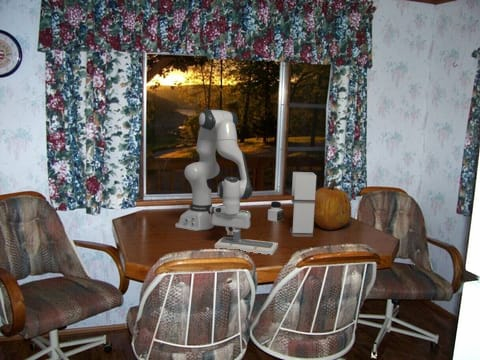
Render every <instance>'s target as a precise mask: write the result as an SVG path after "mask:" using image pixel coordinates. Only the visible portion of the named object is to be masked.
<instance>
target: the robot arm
mask: <svg viewBox="0 0 480 360" xmlns="http://www.w3.org/2000/svg"><path fill="white" fill-rule="evenodd" d="M198 124H199V130H198V134H197V142H196V147H195V151H196V153H198V155H199V161H197V162H192V163H190V164H188V165H187V166H185V169H184V172H183V173H184V177H185V179H186V180H187V181H188V182H189V183H190V186H191V191H192V193H191V194H192V196H191V197H192V202H190V203H189V204H188V206H187V207H188V209H187V210H186V211H184V212H183V213H182V214H181V215H180V217H179V220H178V222H175V224H174V225H175V226H174V227H175V228H178V229H183V230H184V229H185V230H189V231H194V232H195V231H203V230H204V231H206V230H210V229H213V228H214V226H219V227H225V231H226V232H227V236H234V230H235V229H236V228H240V229H246V230H248V229H249V228H251V217H252V213H251V212H250V211H249V210H247V209H245V210H244V209H241V201H240V200H242V201H243V200H244V201H245V200H248V199H250V197H252V195H253V188H252V183H251V180H250V175H249V170H248V165H247V159H246V157H245V153H244V151H243V150H241V148H240V147H239V144H238V134H237V129H236V127H237V126H238V116H237V114H236V113H235V112H233V111H229V110H223V109H222V110H221V109H204V110H202V111H201V112H200V113H199V116H198ZM216 151H217V153H218V154H219V155H220V156H221V157H222V158H225V159H227V160H230V161H233V162H234V163H236V165H237V167H238V171H239V175H240V179H239V178H238V177H235V176H226V177H225V178H224V180H223V181H220V182H219V183H218V184H217V193H216V194H217V196H218V197H219V198H220V199H222V200H223V201H222V204H219V205H217V206H215V207H214V208H213V203H212V189H211V188H209V186H208V181H207V180H211V179H214V178H215V177H216V176H218V175H219V174H220V166H219V165H220V164H218V162H217V159H216V158H217V157H216ZM230 228H232V230H230Z"/></svg>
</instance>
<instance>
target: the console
mask: <svg viewBox="0 0 480 360" xmlns="http://www.w3.org/2000/svg"><path fill="white" fill-rule="evenodd" d="M240 240H241V242H236V241H233V237H231V236H230V237H229V236H222V237H221V238H220V239H219V240H218V241H217V242H215V244H214V249H219V250H220V248H227V249H240V250H243V251H246V252H245V253H250V252H253V253H252V254H258V253H261V254H260V255H267V254H270V255H269V256H273V255H274V253H275V251H277V249H278V247H279V246H278V245H279V242H275V241H263V240H256V239H255V240H254V239H246V238H241V239H240Z"/></svg>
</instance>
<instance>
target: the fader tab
mask: <svg viewBox="0 0 480 360" xmlns="http://www.w3.org/2000/svg"><path fill="white" fill-rule="evenodd" d="M241 229H242V228H236V229H235V230H234V235H233V237H232V238H233V241H236V242H241V240H240V239H242V238H241V237H242V235H241V234H242V231H241Z"/></svg>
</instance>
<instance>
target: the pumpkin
mask: <svg viewBox="0 0 480 360" xmlns="http://www.w3.org/2000/svg"><path fill="white" fill-rule="evenodd" d="M335 184H336V178H334V179H332V180H331V182H330V183H329V186H328V187H321V188H320V187H319V189H317V190H315V206H314V223H315V224H316V225H317V226H318V227H319V228H321V229H323V230H327V231H331V230H338V229H340V228H342V227H344V226H346V225H347V224H348V223H349V222H350V221H351V218H352V203H351V200H350V197H349V196H348V194H347V193H346V191H344V190H342V189H340V188H337V187H335Z"/></svg>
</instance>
